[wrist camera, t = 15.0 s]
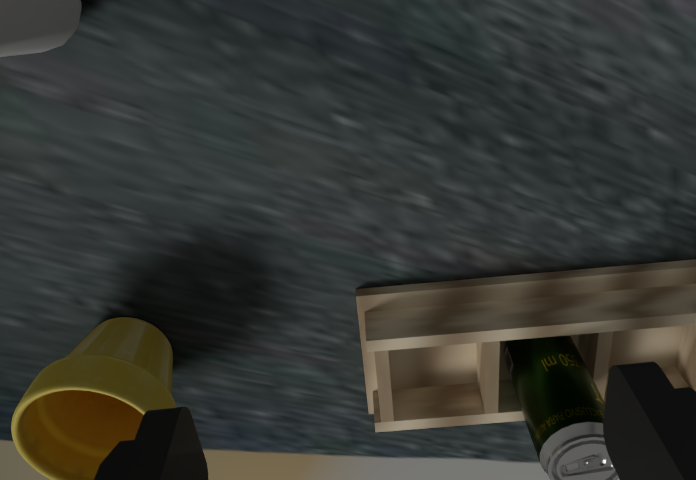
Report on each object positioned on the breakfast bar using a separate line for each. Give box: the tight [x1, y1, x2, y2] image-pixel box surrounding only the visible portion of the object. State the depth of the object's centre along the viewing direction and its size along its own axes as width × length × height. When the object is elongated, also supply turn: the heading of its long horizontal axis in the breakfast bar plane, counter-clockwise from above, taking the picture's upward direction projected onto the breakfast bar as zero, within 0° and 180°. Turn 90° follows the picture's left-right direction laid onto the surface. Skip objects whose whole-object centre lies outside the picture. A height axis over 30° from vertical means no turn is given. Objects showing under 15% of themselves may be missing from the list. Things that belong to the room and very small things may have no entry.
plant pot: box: [11, 317, 176, 480], centre depth 47 cm, size 10×10×10 cm
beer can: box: [503, 335, 619, 480], centre depth 45 cm, size 5×5×12 cm
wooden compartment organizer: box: [356, 259, 696, 432], centre depth 49 cm, size 27×12×4 cm, turn 96°
